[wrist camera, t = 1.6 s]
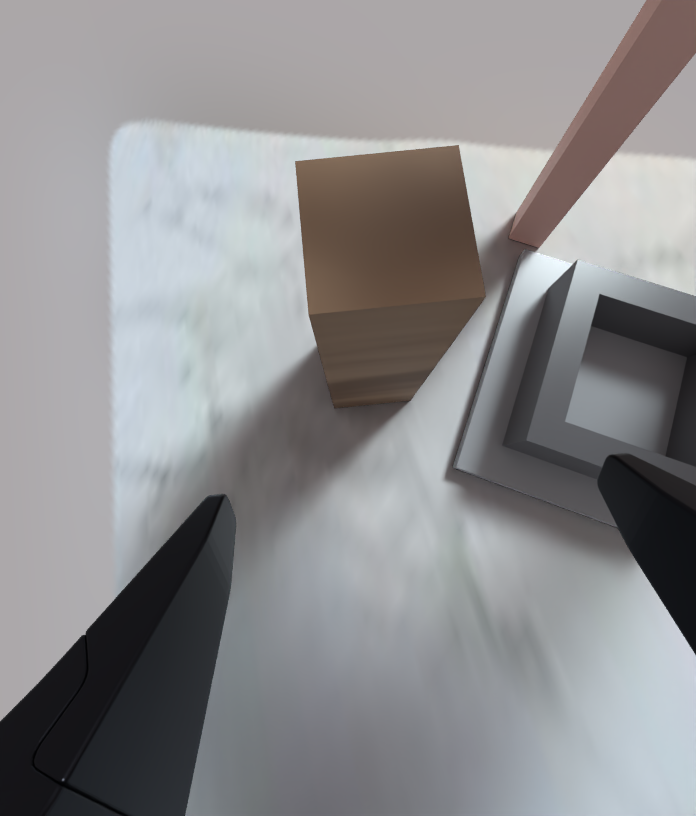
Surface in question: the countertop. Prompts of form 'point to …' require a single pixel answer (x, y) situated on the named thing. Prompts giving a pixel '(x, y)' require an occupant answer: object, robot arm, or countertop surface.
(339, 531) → the countertop surface
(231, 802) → the countertop surface
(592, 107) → the pink arch frame
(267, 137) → the countertop surface
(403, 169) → the walnut peg
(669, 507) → the robot arm
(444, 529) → the countertop surface
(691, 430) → the socket
